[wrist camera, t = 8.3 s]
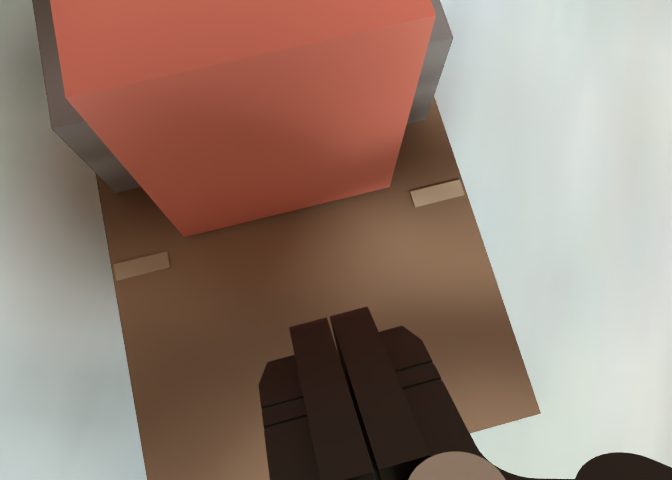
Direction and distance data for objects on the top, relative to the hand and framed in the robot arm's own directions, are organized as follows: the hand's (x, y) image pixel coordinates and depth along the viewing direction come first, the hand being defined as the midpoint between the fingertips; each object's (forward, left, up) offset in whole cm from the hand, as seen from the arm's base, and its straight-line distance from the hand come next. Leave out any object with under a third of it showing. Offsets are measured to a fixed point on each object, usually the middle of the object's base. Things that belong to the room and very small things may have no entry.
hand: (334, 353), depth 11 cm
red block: (-5, +6, -6) cm, 10 cm away
